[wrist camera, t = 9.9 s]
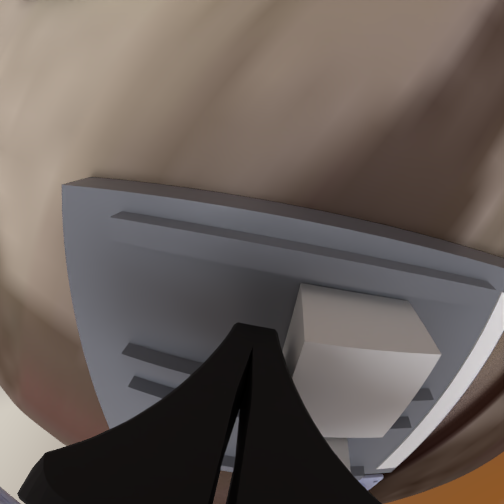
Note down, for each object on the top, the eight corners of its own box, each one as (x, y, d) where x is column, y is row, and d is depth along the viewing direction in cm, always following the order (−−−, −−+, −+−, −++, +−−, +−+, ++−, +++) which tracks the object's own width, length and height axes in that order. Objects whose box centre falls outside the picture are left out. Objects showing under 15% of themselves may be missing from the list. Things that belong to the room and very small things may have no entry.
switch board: (386, 451, 16) (392, 480, 13) (120, 409, 17) (105, 437, 14) (506, 259, 10) (538, 283, 7) (91, 177, 11) (48, 188, 8)
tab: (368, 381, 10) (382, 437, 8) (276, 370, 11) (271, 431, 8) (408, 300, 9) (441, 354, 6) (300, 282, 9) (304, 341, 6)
